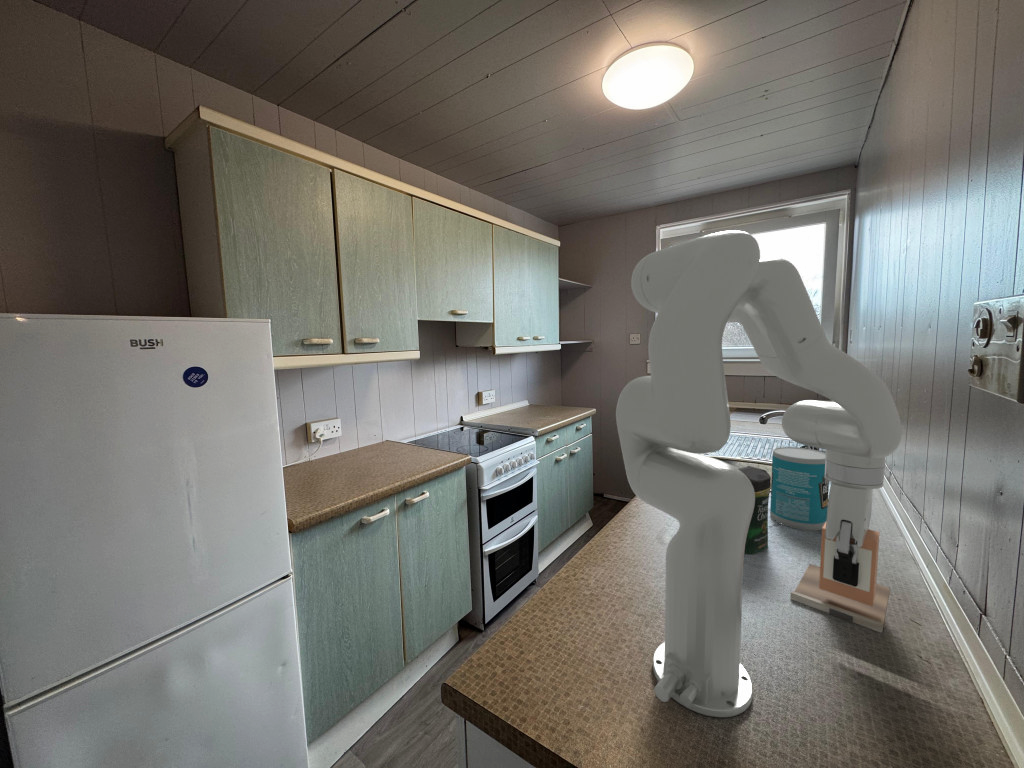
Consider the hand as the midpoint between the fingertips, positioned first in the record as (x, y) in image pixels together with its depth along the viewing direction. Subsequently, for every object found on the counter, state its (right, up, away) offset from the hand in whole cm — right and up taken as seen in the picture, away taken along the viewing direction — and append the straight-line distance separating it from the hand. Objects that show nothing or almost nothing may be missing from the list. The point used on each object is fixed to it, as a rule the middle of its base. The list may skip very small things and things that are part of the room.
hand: (847, 574), depth 69 cm
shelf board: (+2, -6, +4) cm, 8 cm away
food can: (+17, -3, +36) cm, 40 cm away
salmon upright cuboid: (0, -3, 0) cm, 3 cm away
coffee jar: (-5, -5, +22) cm, 23 cm away
